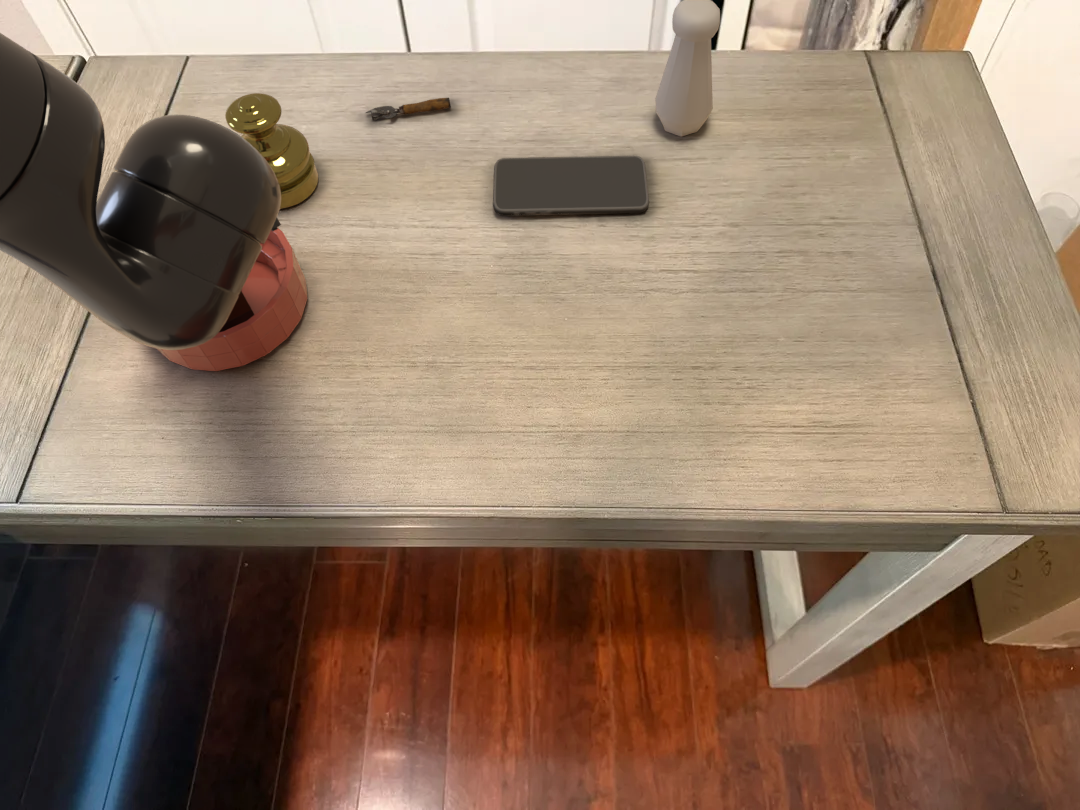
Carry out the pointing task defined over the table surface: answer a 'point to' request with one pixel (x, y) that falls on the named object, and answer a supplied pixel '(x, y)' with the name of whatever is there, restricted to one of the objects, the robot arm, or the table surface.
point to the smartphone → (570, 185)
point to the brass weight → (275, 145)
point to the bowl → (256, 312)
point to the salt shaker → (688, 68)
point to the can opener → (412, 108)
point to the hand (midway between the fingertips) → (193, 252)
